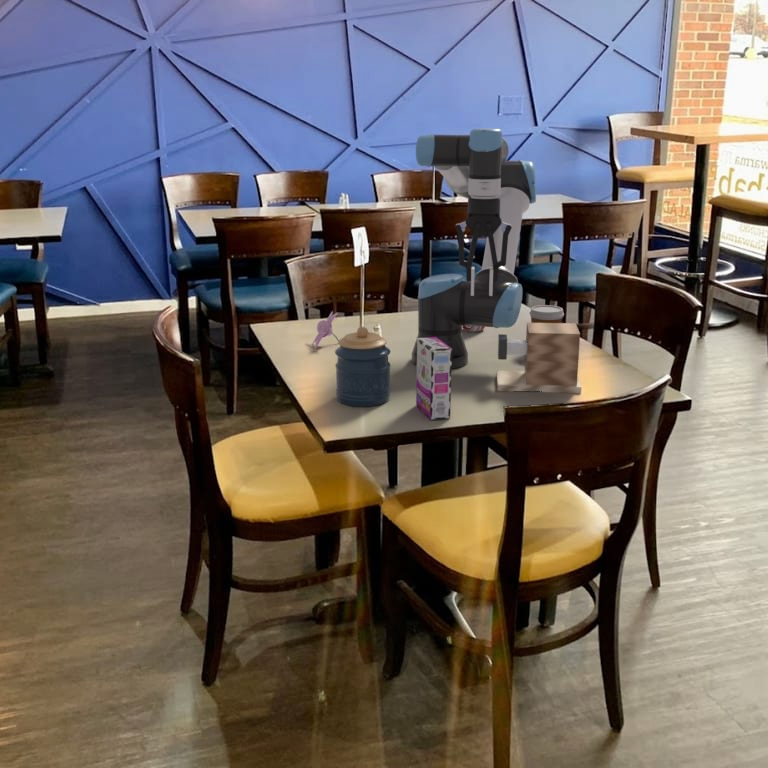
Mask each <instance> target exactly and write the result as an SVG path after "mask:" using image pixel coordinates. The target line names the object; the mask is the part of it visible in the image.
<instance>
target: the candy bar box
mask: <svg viewBox="0 0 768 768" xmlns="http://www.w3.org/2000/svg"><path fill="white" fill-rule="evenodd" d="M416 339H417V365H416V382H415V383H416V387H415V388H416V390H415V391H416V392H415V394H416V401H415V403H416V404H415V405H416V407H417V408H418V409H419V410H420V411H422V412H423V414H424V415H425V416H427V417H428V418H429V420H430V421H437V420H438V421H439V420H448V419H451V399H452V398H451V396H452V394H451V393H452V369H453V368H452V348H450V347H449V346H447V345H446V344H445V343H443V342H442V341H441V340H439V339H438V338H437V337H426V338H417V337H416Z"/></svg>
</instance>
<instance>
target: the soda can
mask: <svg viewBox="0 0 768 768" xmlns="http://www.w3.org/2000/svg"><path fill="white" fill-rule="evenodd" d="M462 330H466V332H468V331H469V333H479V331H480V332H482V331H483V330H485V327H481V326H465V325H462Z"/></svg>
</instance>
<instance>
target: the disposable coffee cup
mask: <svg viewBox="0 0 768 768" xmlns="http://www.w3.org/2000/svg"><path fill="white" fill-rule="evenodd" d="M528 314H529V315H530V320H531V322H530V323H563V318H564V316H565V313H564V309H563V307H560V306H556V305H551V304H549V305H548V304H545V305H543V304H540V305H534V306H532V307H531V309H530V311H529V313H528Z"/></svg>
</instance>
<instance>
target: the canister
mask: <svg viewBox="0 0 768 768" xmlns="http://www.w3.org/2000/svg"><path fill="white" fill-rule="evenodd" d="M338 340H339V342H337V343H338V345H339V347H337V348H335V350H334V353H335V356H336V357H337V362H336V363H335V369H336V372H335V374H336V375H335V377H336V388H335V394H336V398H337V401H338V402H340V403H341V404H343V405H346V406H351V407H361V408H362V407H374V406H379V405H381V404H385V403H386V402H388V401H389V399H390V395H391V390H392V389H391V387H390V385H391V384H390V383H391V381H390V379H391V376H390V375H391V373H390V372H391V371H390V368H391V362H390V361H389V355H390V354H391V349H390V348H389V347H387V346H386V345H387V342H388V341H387V339H386V338H384V337H382V336H381V335H380V334H378V333H375V332H370V331H369V330H368V328H367V327H366V326H359V327H358V328H357V330H356V332H351V333H348V334H345V335H344V336H343V337H342V338H340V339H338Z"/></svg>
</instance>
